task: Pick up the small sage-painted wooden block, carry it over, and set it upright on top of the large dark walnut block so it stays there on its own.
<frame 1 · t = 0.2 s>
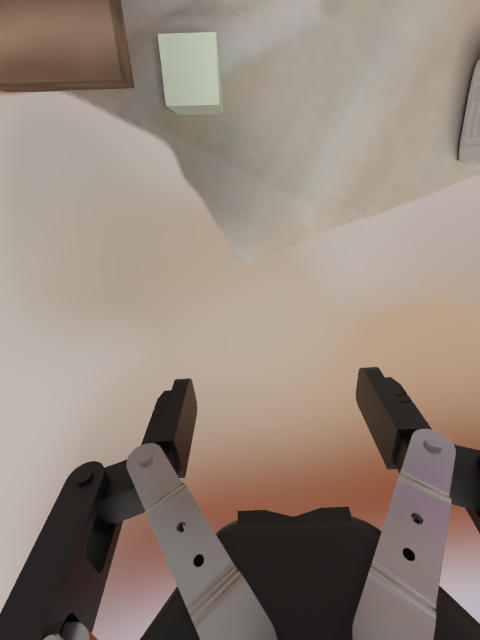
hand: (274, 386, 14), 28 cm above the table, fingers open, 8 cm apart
walnut block: (50, 1, 28), on the table
sage block: (198, 86, 31), on the table
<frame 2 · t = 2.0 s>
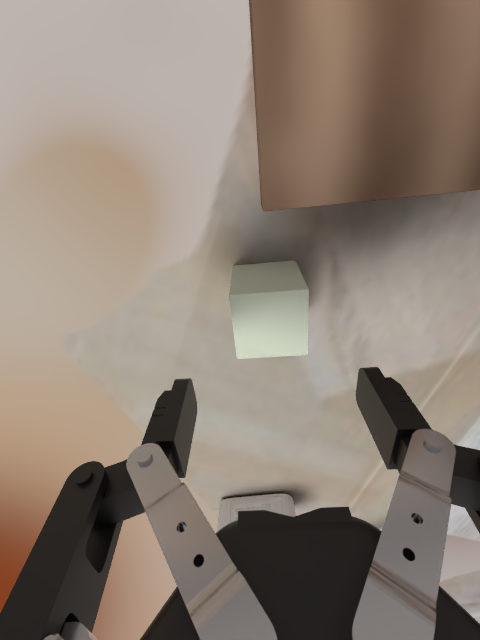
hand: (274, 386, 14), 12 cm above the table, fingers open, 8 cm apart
walnut block: (367, 70, 18), on the table
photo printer: (255, 500, 40), on the table
sage block: (265, 291, 25), on the table
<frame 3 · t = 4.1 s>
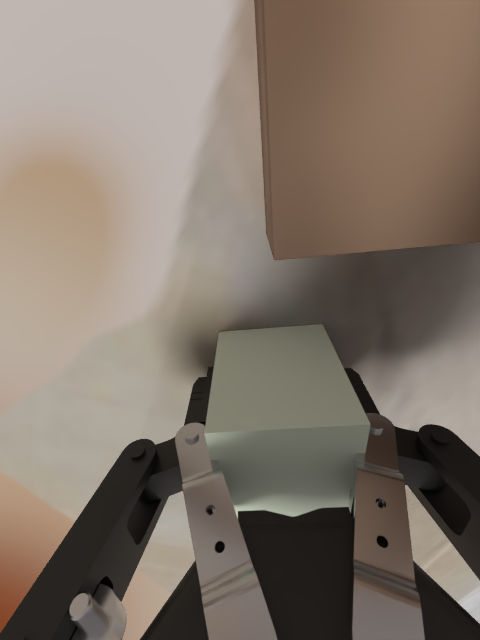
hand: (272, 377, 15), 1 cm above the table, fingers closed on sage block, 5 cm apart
sage block: (272, 368, 15), on the table, touching gripper
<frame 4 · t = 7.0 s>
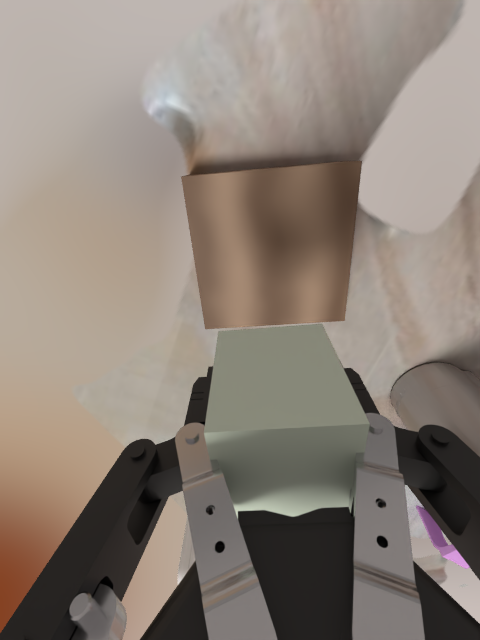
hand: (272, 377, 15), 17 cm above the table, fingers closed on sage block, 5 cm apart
walnut block: (269, 245, 29), on the table
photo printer: (217, 503, 51), on the table
toy chair: (445, 501, 50), on the table
sage block: (271, 368, 15), point 17 cm above the table, touching gripper
when the fingers open (6 cm above the table, at t = 10.3 s): sage block drops 2 cm, resting on walnut block.
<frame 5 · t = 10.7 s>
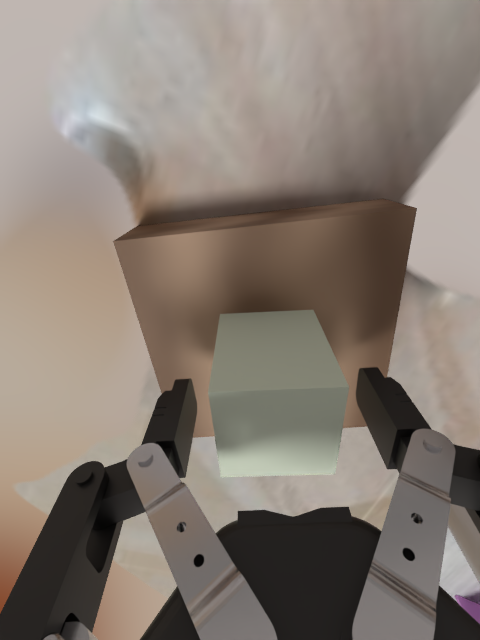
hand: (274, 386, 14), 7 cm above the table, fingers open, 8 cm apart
walnut block: (264, 316, 20), on the table, touching sage block
sage block: (267, 350, 17), point 3 cm above the table, touching walnut block
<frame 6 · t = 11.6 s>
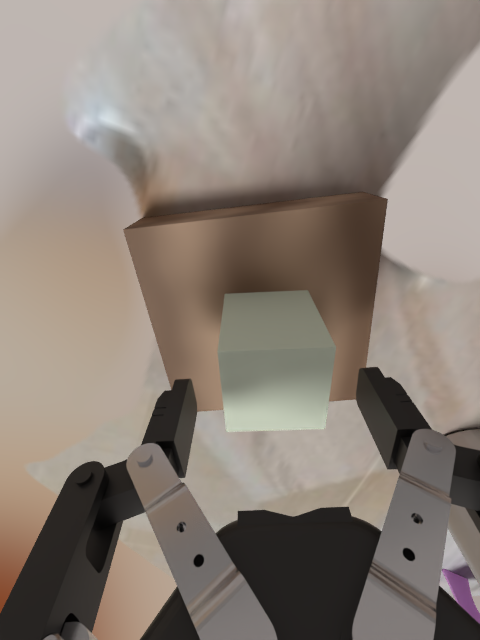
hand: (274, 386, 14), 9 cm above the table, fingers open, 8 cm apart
walnut block: (258, 301, 22), on the table, touching sage block
toy chair: (475, 563, 43), on the table
sage block: (266, 327, 19), point 3 cm above the table, touching walnut block
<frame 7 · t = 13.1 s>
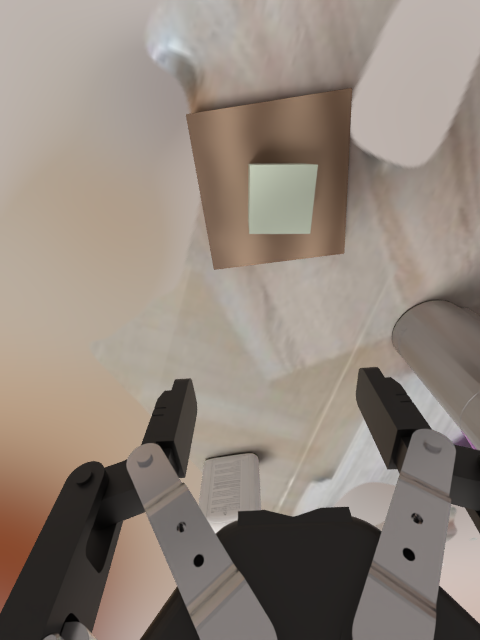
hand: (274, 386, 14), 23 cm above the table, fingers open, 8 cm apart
walnut block: (269, 187, 31), on the table
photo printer: (230, 460, 53), on the table
sage block: (274, 193, 28), point 3 cm above the table
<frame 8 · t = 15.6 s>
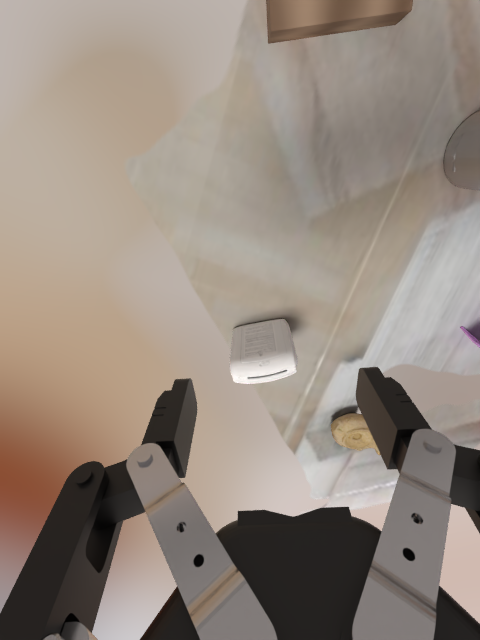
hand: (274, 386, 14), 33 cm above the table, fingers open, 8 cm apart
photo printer: (260, 330, 51), on the table
oil lamp: (359, 422, 62), on the table
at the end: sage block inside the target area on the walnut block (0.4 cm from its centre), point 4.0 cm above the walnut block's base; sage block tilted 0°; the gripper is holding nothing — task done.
